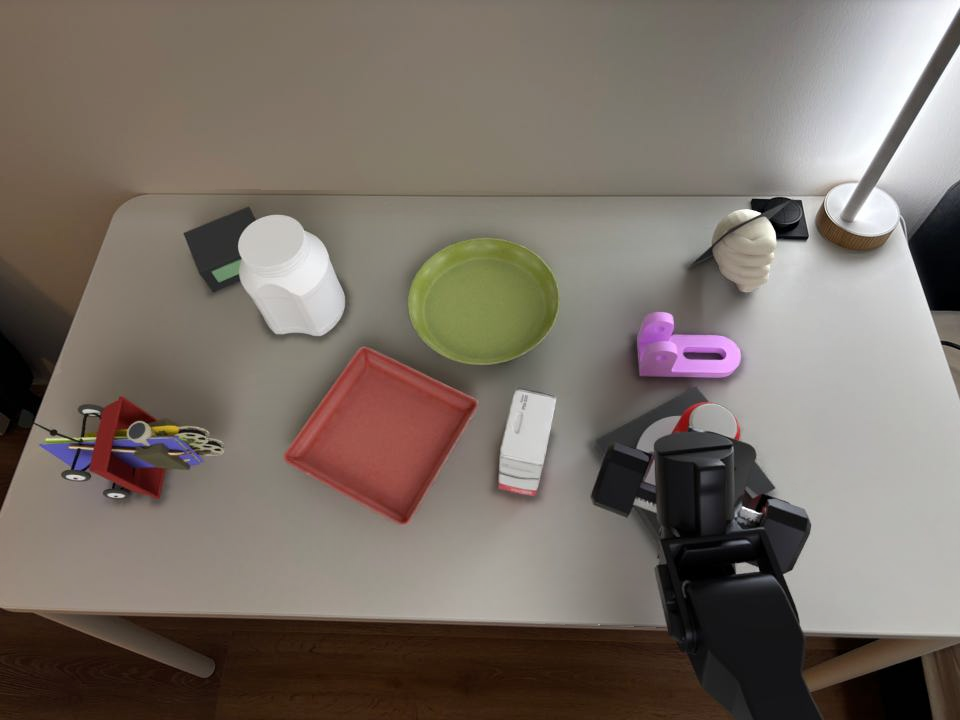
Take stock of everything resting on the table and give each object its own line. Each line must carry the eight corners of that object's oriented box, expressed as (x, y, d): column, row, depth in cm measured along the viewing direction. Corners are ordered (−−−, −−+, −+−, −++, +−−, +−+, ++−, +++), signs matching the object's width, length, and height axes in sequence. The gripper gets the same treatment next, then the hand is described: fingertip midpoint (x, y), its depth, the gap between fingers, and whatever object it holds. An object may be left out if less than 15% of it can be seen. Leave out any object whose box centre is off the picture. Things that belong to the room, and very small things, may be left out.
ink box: (538, 498, 78) (542, 466, 68) (497, 489, 79) (495, 456, 69) (551, 433, 82) (557, 393, 72) (512, 425, 83) (512, 384, 73)
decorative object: (772, 283, 94) (715, 311, 92) (735, 223, 96) (678, 250, 94) (825, 247, 82) (761, 280, 80) (782, 179, 83) (718, 209, 81)
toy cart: (96, 437, 86) (241, 422, 84) (79, 506, 81) (232, 492, 80) (-7, 381, 71) (167, 361, 69) (-34, 462, 66) (151, 443, 64)
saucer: (587, 299, 92) (590, 286, 89) (495, 404, 85) (495, 394, 82) (474, 228, 98) (473, 214, 95) (380, 320, 91) (376, 308, 88)
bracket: (639, 376, 86) (649, 350, 79) (636, 339, 88) (646, 311, 82) (740, 378, 85) (758, 352, 79) (734, 340, 87) (751, 313, 81)
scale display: (278, 266, 96) (267, 245, 92) (213, 293, 95) (199, 273, 90) (260, 228, 100) (248, 206, 96) (197, 254, 98) (183, 232, 94)
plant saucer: (366, 354, 89) (361, 342, 86) (482, 411, 84) (481, 400, 81) (287, 467, 82) (279, 458, 79) (410, 535, 77) (406, 529, 74)
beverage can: (721, 480, 76) (755, 443, 65) (670, 493, 75) (696, 458, 64) (700, 432, 78) (730, 390, 68) (651, 445, 78) (673, 404, 67)
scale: (769, 493, 78) (778, 485, 75) (664, 554, 75) (670, 548, 72) (692, 393, 84) (698, 383, 81) (594, 446, 81) (596, 437, 79)
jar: (350, 280, 95) (324, 211, 81) (338, 337, 90) (309, 274, 77) (274, 277, 96) (235, 208, 82) (258, 333, 91) (215, 270, 78)
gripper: (856, 506, 49) (818, 433, 64) (616, 423, 53) (632, 372, 67) (797, 622, 53) (774, 528, 67) (577, 536, 57) (600, 465, 71)
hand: (694, 471), depth 68 cm, fingers open, 9 cm apart
